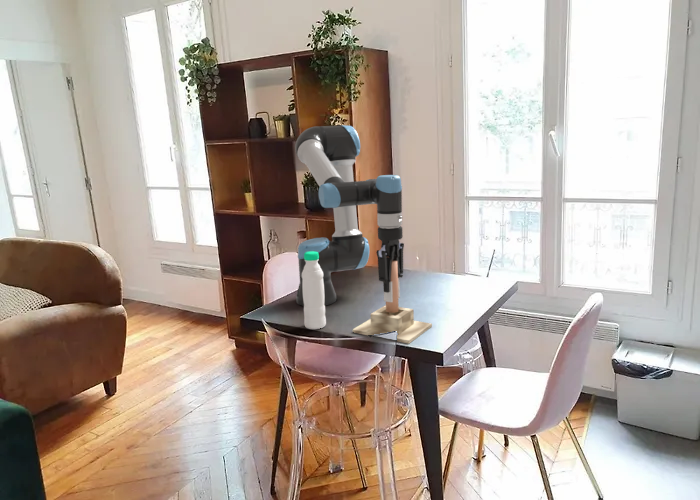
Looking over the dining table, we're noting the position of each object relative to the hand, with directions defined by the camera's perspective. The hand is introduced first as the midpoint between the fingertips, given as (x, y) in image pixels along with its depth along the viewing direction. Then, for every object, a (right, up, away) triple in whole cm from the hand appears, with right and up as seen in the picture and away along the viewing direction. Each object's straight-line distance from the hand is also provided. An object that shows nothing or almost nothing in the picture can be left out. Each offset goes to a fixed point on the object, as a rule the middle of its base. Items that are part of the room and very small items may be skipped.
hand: (391, 299), depth 172 cm
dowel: (0, -4, +1) cm, 4 cm away
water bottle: (-25, -10, +8) cm, 28 cm away
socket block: (0, -10, +2) cm, 10 cm away
